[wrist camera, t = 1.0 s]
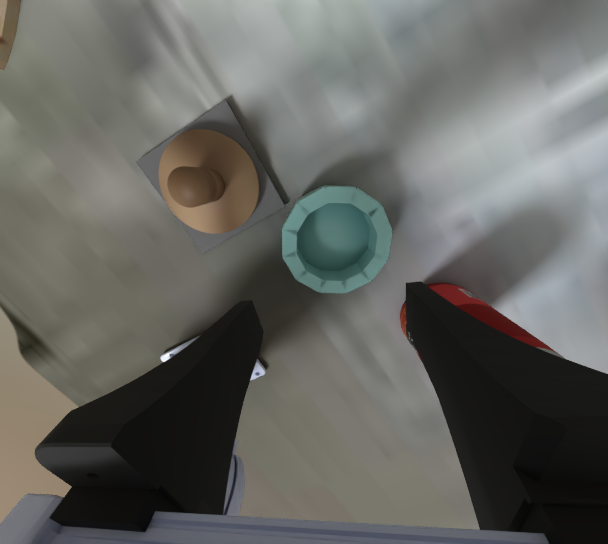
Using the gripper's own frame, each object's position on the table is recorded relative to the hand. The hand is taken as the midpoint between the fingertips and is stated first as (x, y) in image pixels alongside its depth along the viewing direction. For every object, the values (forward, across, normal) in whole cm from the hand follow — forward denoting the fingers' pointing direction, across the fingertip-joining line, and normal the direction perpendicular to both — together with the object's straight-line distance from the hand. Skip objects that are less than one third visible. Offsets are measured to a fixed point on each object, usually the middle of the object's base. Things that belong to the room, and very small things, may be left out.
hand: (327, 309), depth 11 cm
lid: (+12, +9, -5) cm, 16 cm away
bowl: (+13, 0, +1) cm, 13 cm away
